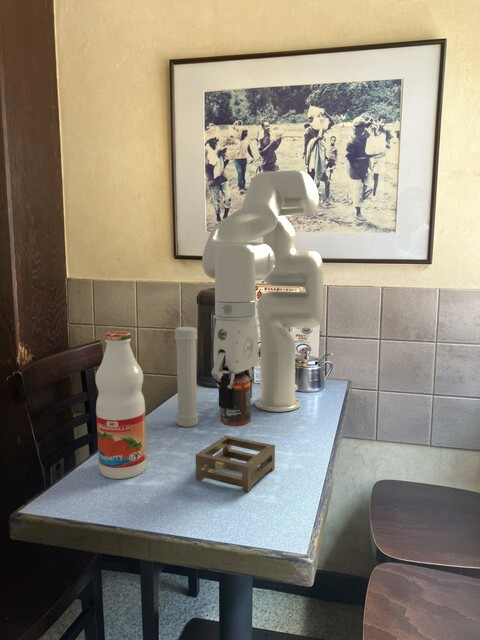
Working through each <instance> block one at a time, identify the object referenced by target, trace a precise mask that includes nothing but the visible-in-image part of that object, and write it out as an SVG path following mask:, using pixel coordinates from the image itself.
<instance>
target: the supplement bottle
mask: <svg viewBox="0 0 480 640" xmlns="http://www.w3.org/2000/svg"><path fill="white" fill-rule="evenodd" d="M225 370H226V371H229V369H228V368H225ZM224 376H226V378H227V379H228V378H229V375H228V374H224ZM232 388H235V408H234V409H228V408H222V407H219V408H220V409H219V410H220V411H219V413H220V416H219V417H220V422H221V423H222V424H223V425H224V426H228V427H243V426H245V425H248V424H250V422H251V420H252V418H251V417H252V406H251V404H252V402H251V401H252V398H251V392H250V378H249V377H248V376H247V375H246V374H245V371H243V372H241V373H238V374H235V376H234V382H233V387H232Z"/></svg>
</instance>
